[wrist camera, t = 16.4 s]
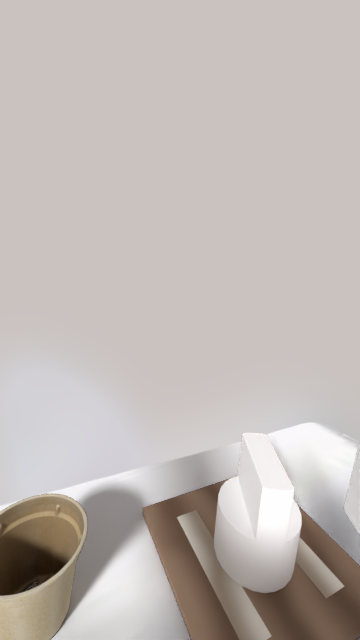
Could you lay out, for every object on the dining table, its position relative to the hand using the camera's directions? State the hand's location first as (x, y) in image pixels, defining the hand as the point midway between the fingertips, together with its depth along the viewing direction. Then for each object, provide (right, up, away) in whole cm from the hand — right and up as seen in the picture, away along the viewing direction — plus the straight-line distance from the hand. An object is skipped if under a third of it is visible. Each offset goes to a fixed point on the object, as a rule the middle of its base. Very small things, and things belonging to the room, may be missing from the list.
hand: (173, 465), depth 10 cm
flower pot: (-13, -22, +16) cm, 31 cm away
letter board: (+9, -22, +23) cm, 33 cm away
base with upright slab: (+9, -22, +22) cm, 32 cm away
